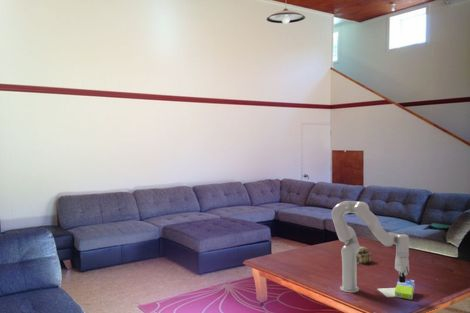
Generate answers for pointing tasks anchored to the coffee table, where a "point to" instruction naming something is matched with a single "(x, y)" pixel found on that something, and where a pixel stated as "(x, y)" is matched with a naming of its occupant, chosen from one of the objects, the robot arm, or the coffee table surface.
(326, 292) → the coffee table surface
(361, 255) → the miniature house
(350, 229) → the robot arm
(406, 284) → the box
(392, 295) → the mat
